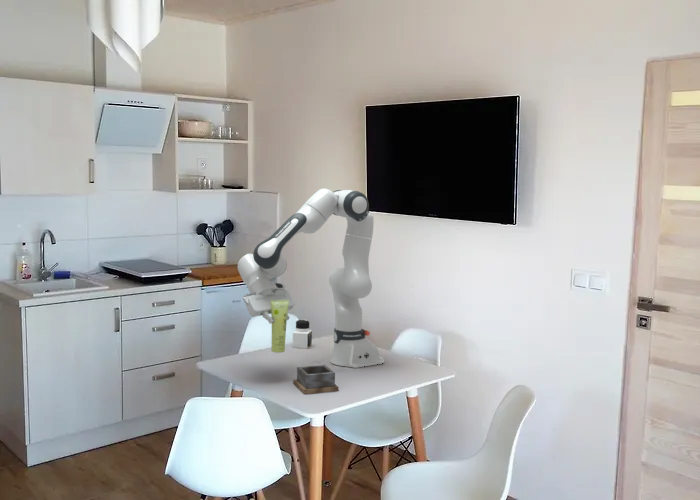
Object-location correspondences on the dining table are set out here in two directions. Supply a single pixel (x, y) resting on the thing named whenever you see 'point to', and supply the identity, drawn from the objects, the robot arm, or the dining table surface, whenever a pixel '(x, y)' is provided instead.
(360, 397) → the dining table surface
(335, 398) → the dining table surface
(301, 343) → the medicine bottle
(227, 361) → the dining table surface
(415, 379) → the dining table surface
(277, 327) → the tube
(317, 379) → the holder
